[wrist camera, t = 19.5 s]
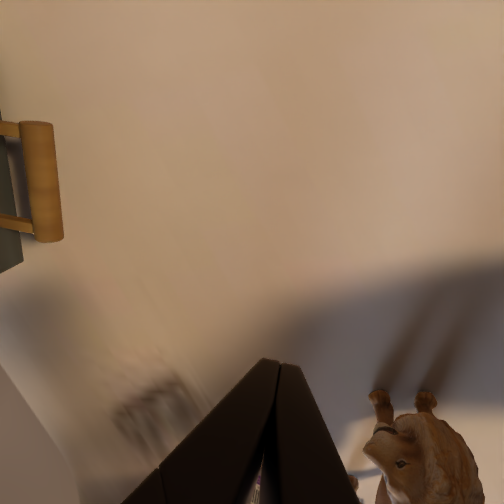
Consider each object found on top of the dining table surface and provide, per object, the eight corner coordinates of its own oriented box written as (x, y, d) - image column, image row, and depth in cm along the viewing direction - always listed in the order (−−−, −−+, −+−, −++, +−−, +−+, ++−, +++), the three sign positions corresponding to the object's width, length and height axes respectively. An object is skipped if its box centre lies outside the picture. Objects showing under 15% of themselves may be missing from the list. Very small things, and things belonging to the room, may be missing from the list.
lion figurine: (353, 336, 21) (372, 486, 13) (451, 345, 20) (540, 513, 12) (338, 499, 26) (343, 675, 18) (413, 512, 25) (455, 704, 17)
